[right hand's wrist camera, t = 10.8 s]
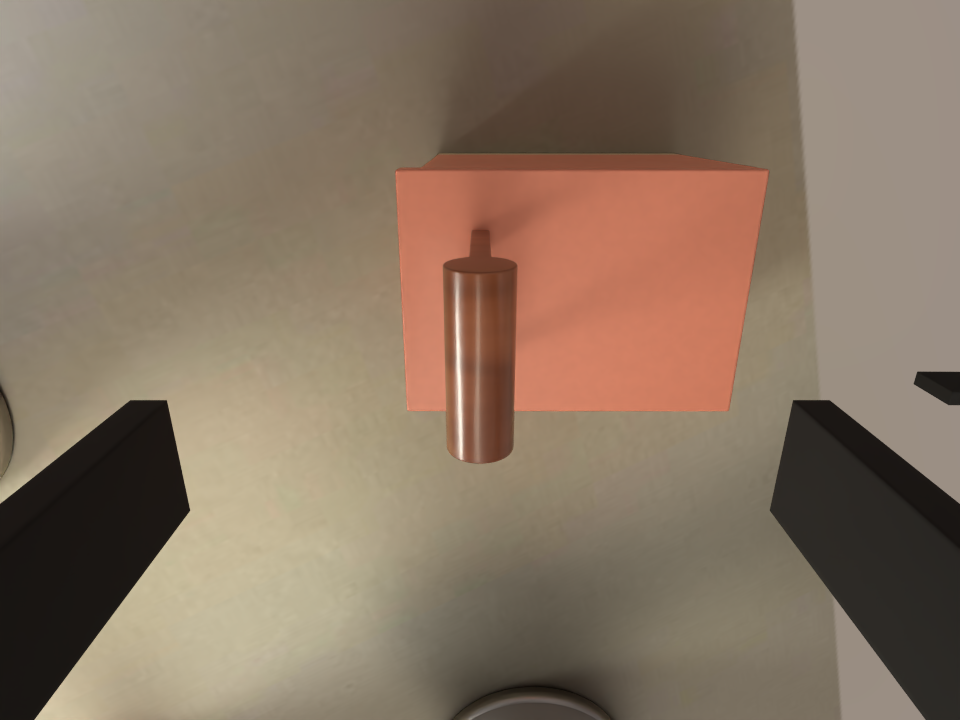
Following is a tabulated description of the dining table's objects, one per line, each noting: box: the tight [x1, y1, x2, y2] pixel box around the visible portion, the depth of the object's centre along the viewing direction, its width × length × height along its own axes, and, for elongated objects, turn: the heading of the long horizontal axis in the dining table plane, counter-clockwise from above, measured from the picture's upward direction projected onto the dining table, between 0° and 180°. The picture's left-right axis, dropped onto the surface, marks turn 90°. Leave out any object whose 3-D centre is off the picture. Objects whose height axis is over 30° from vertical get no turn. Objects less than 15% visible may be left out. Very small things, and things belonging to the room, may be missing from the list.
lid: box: [395, 168, 769, 463], centre depth 21 cm, size 14×10×9 cm
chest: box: [421, 153, 756, 168], centre depth 30 cm, size 13×10×11 cm
